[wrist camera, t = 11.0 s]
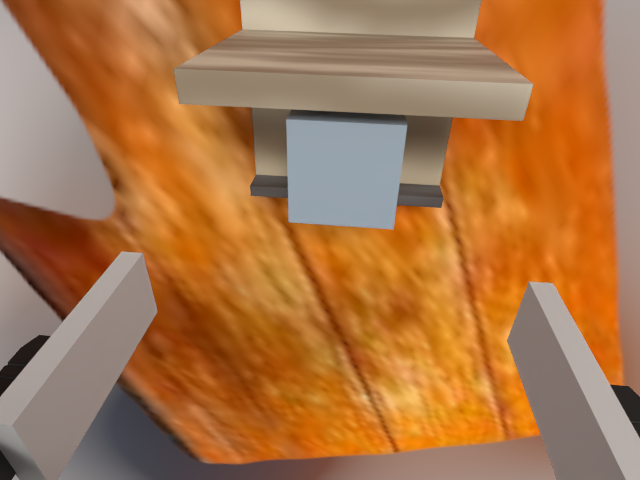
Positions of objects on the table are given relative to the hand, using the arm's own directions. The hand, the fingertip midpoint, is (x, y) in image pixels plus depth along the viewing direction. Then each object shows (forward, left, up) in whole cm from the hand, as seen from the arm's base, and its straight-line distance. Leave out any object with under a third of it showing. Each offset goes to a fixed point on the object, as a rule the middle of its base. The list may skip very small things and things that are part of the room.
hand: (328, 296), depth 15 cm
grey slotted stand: (-3, 0, -23) cm, 23 cm away
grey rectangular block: (0, 0, -19) cm, 19 cm away
